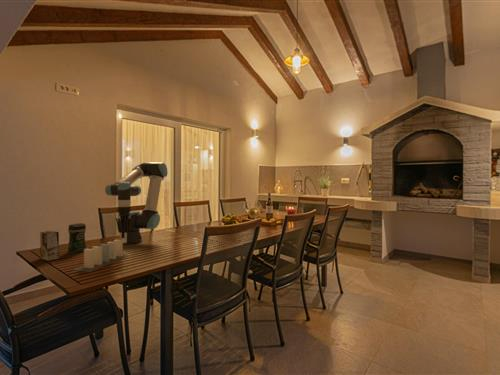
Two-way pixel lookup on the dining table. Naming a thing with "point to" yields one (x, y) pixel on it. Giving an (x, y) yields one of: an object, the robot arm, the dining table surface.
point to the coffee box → (49, 245)
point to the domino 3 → (105, 252)
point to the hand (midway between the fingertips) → (124, 242)
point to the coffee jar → (76, 238)
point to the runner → (99, 265)
